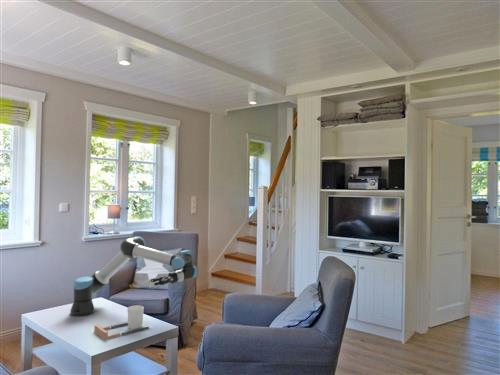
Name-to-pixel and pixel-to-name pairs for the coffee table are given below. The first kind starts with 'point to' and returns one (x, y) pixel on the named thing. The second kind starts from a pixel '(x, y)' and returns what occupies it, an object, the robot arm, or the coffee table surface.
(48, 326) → the coffee table surface
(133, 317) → the candle holder
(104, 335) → the orange u-shaped bracket
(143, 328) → the guide rails
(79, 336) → the coffee table surface
